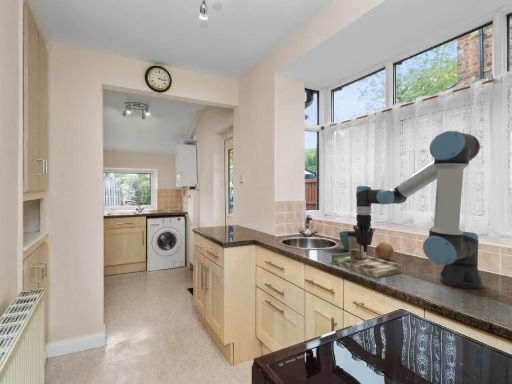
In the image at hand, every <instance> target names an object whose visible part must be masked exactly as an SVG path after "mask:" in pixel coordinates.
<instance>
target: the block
mask: <svg viewBox="0 0 512 384" xmlns="http://www.w3.org/2000/svg"><path fill="white" fill-rule="evenodd" d="M367 252H368V251H367ZM367 252H366V258H361V251H360V249H358V248H357V249H350V258H351V259H354V260H358V261H361V260H367V256H368V255H367Z"/></svg>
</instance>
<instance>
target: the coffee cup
mask: <svg viewBox="0 0 512 384" xmlns="http://www.w3.org/2000/svg"><path fill="white" fill-rule="evenodd" d="M349 231H350V232H348V234H347V236H348V243H349V251H350V249H357V248H358V249H360V244H358V243H357V240H356V235H355V230H354V231H353V230H349Z"/></svg>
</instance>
